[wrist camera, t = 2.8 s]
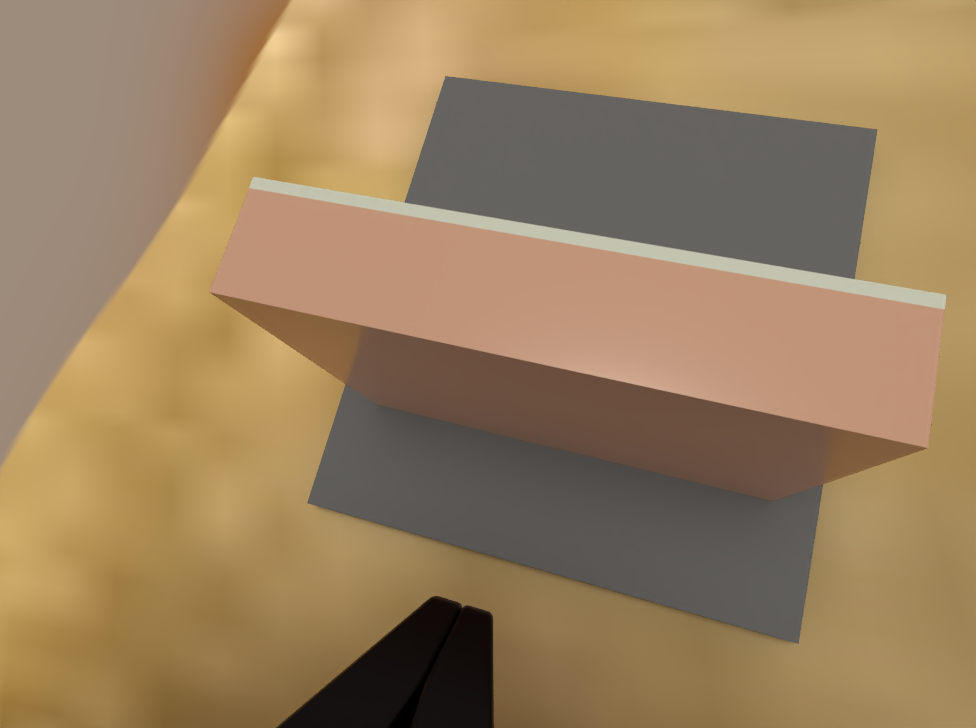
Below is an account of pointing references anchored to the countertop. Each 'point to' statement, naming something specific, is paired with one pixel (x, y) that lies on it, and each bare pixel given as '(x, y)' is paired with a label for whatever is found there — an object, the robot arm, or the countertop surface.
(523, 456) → the mat
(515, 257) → the tile
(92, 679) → the countertop surface
